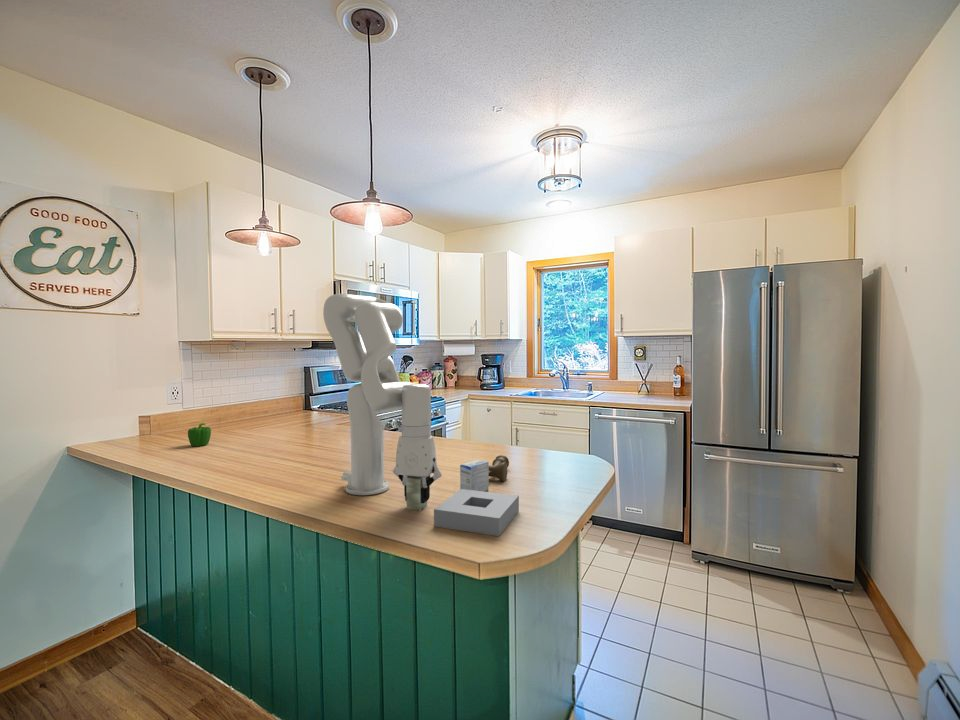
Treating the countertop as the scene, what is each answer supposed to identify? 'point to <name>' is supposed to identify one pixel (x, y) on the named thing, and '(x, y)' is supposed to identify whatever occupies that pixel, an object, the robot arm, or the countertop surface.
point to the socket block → (477, 512)
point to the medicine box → (474, 475)
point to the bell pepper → (199, 435)
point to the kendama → (499, 468)
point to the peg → (414, 493)
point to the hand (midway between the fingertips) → (417, 499)
